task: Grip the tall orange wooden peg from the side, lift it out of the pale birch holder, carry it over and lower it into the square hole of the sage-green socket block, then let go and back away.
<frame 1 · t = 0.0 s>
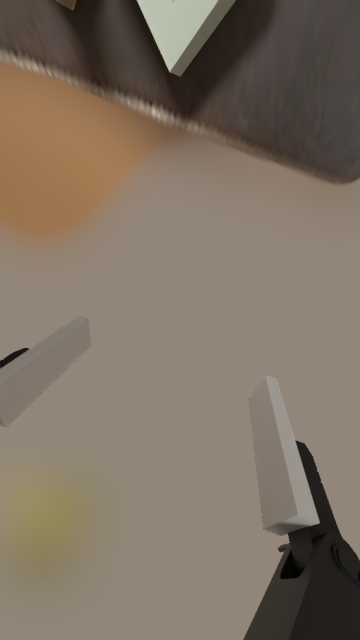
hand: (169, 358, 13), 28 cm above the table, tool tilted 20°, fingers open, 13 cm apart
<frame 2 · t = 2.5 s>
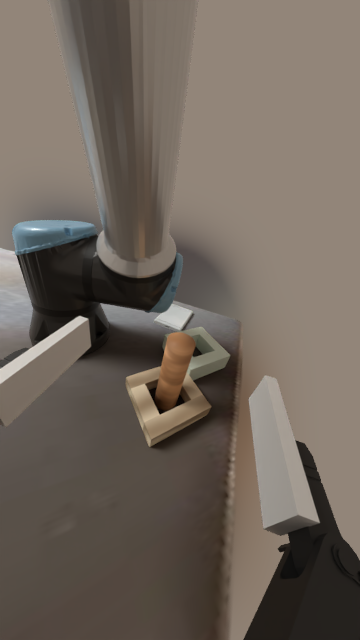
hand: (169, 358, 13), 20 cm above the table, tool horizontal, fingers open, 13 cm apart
holder: (165, 399, 32), on the table
socket block: (192, 357, 42), on the table
hard drive: (174, 319, 55), on the table
peg: (172, 374, 28), in the holder
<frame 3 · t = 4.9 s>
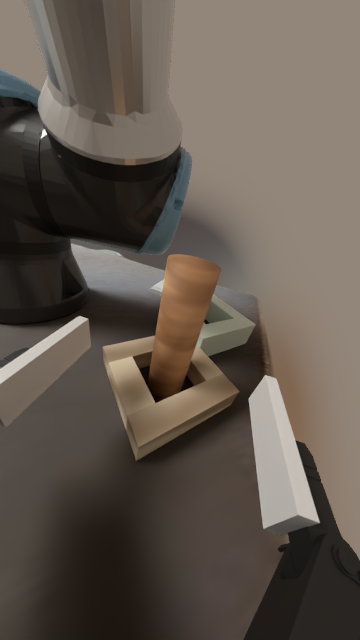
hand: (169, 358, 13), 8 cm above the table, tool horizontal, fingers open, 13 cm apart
holder: (165, 382, 20), on the table
socket block: (201, 330, 31), on the table
hard drive: (175, 291, 44), on the table
peg: (176, 336, 17), in the holder
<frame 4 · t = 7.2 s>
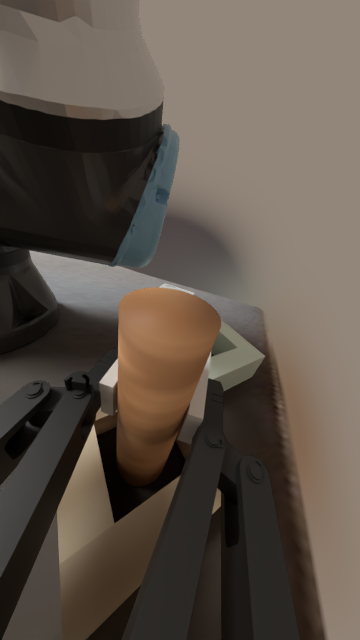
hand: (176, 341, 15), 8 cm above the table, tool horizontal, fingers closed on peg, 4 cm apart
holder: (142, 454, 15), on the table
socket block: (197, 359, 25), on the table
peg: (152, 407, 11), in the holder, touching gripper
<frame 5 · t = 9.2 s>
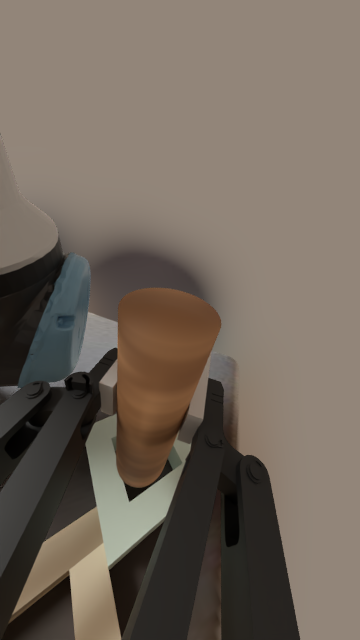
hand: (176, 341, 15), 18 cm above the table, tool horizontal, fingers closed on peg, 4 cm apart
socket block: (143, 464, 22), on the table
peg: (151, 407, 11), point 17 cm above the table, touching gripper
when the fingers open (9 cm above the table, at t = 11.7 s): peg drops 1 cm, resting in socket block.
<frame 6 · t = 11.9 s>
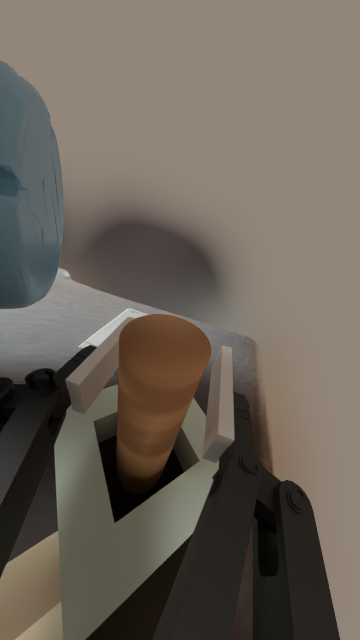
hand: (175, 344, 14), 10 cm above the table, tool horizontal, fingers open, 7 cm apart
socket block: (140, 461, 15), on the table
hard drive: (129, 340, 29), on the table
peg: (149, 420, 12), in the socket block
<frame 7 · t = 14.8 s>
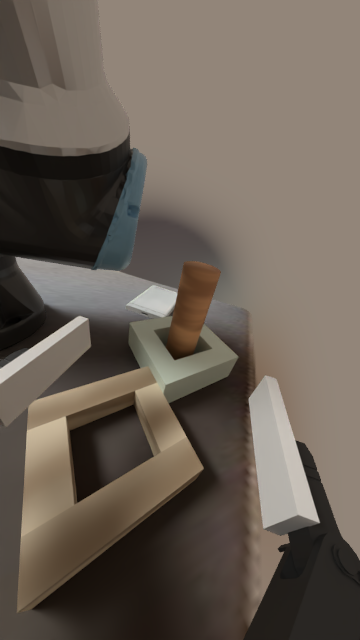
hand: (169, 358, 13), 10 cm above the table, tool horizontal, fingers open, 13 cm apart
holder: (112, 447, 16), on the table
socket block: (176, 359, 26), on the table
hard drive: (156, 305, 40), on the table
peg: (187, 321, 22), in the socket block
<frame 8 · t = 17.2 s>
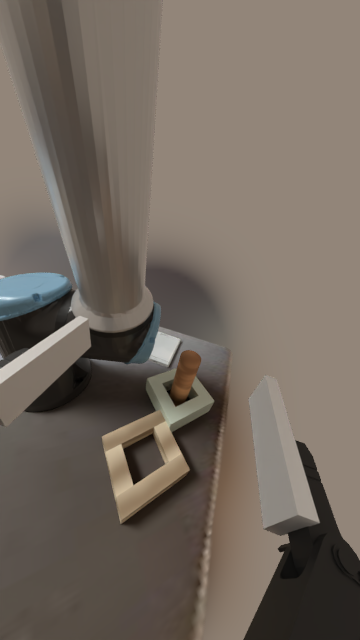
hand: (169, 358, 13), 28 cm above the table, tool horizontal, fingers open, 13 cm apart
holder: (143, 458, 31), on the table
socket block: (176, 399, 41), on the table
hard drive: (162, 350, 55), on the table
peg: (183, 381, 37), in the socket block
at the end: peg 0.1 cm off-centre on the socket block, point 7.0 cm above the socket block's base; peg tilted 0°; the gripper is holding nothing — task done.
